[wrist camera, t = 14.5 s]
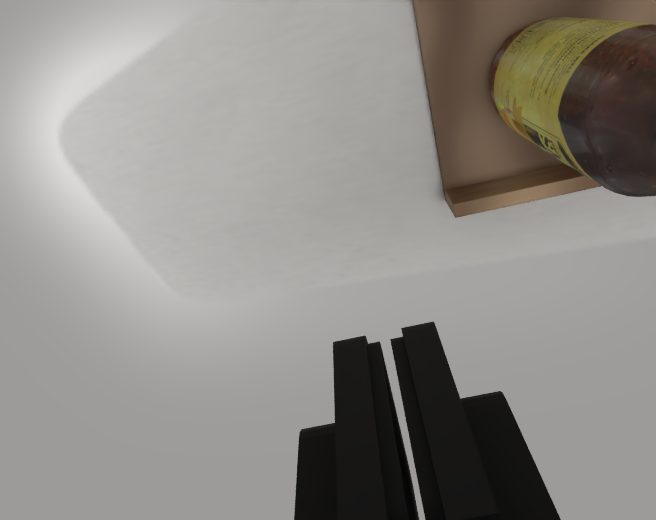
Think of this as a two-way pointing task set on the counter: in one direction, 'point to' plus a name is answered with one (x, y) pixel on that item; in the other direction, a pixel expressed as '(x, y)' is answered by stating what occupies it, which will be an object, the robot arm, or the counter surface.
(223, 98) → the counter surface
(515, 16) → the tray
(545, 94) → the sauce bottle
